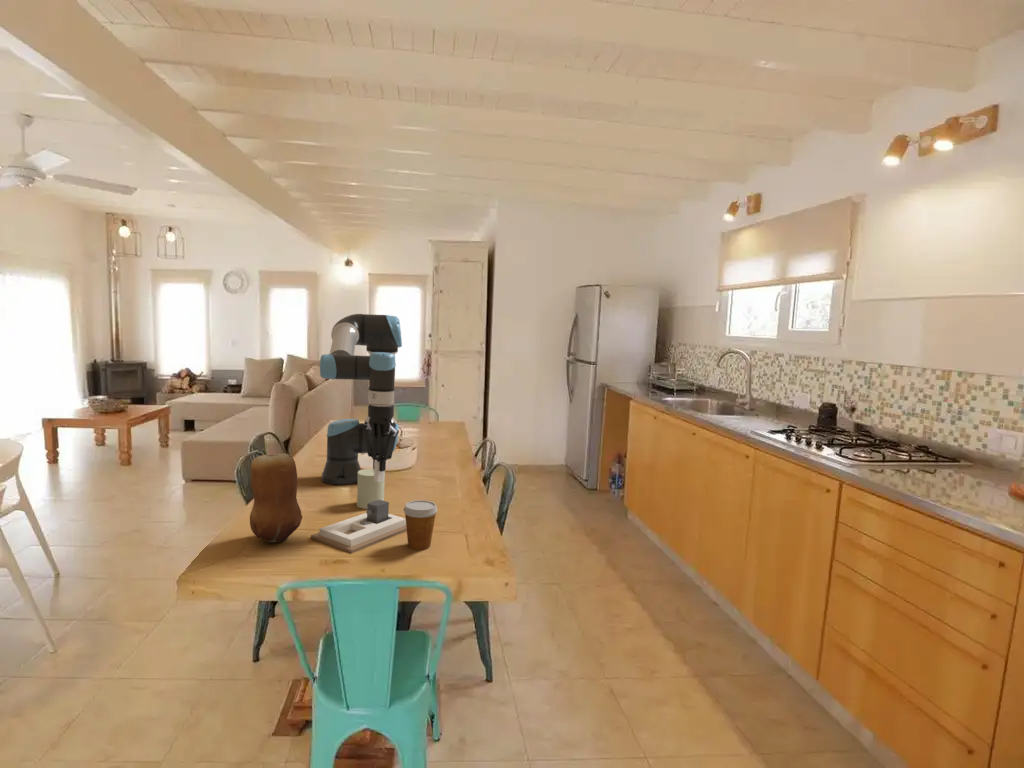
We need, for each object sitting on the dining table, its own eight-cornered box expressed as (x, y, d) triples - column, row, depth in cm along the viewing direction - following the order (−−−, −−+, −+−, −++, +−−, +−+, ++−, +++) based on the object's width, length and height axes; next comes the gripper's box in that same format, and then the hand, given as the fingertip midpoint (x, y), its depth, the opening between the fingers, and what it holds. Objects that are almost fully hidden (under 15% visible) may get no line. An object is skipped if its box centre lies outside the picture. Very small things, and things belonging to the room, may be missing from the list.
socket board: (310, 537, 166) (310, 526, 166) (374, 515, 187) (374, 505, 187) (351, 553, 157) (352, 541, 157) (414, 527, 178) (414, 517, 178)
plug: (362, 527, 174) (363, 505, 173) (378, 521, 180) (379, 499, 179) (372, 530, 172) (372, 507, 171) (388, 524, 178) (388, 502, 177)
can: (389, 503, 200) (390, 469, 199) (374, 511, 191) (375, 475, 190) (366, 499, 203) (367, 465, 202) (351, 506, 194) (351, 472, 193)
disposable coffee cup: (404, 539, 169) (405, 499, 168) (436, 539, 170) (438, 500, 168) (400, 552, 160) (401, 510, 158) (435, 552, 160) (437, 511, 159)
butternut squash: (263, 530, 170) (263, 447, 167) (308, 533, 169) (309, 449, 167) (239, 549, 156) (239, 458, 153) (288, 552, 156) (289, 461, 153)
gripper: (356, 402, 173) (354, 479, 176) (388, 408, 166) (385, 488, 169) (374, 400, 179) (372, 474, 182) (406, 405, 172) (403, 482, 175)
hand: (378, 480), depth 175 cm, fingers closed
